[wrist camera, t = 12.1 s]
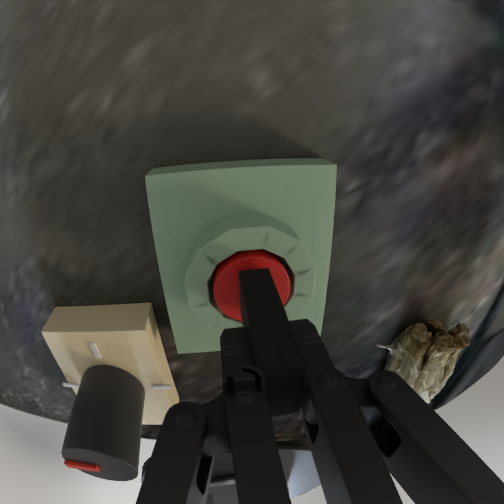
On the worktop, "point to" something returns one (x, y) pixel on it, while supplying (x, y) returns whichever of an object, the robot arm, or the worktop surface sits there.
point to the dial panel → (114, 349)
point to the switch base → (239, 235)
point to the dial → (106, 424)
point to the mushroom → (426, 355)
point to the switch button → (229, 278)
